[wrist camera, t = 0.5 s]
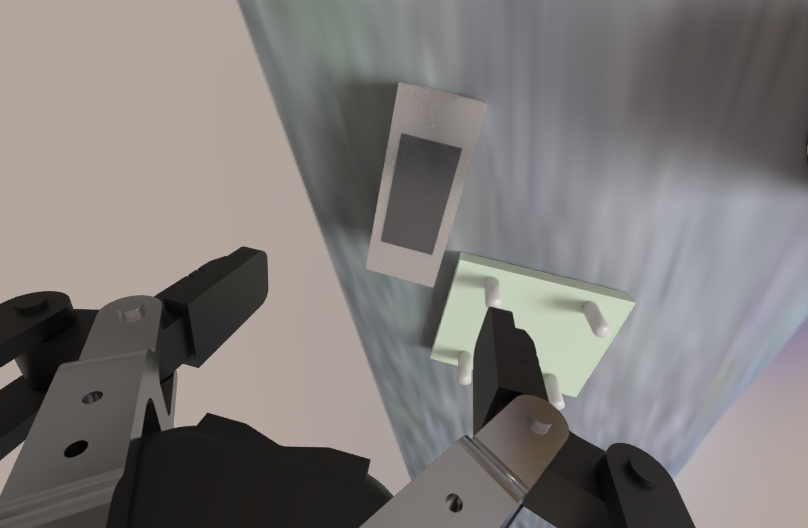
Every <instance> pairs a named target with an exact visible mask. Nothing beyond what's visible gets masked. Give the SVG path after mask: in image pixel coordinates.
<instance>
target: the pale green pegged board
mask: <svg viewBox="0 0 808 528" xmlns="http://www.w3.org/2000/svg"><path fill="white" fill-rule="evenodd" d="M635 304H636V302H635V301H634V300H633V298H632V297H631V296H630V294H629V293H627V292H623V291H619V290H615V289H610V288H606V287H602V286H598V285H594V284H590V283H586V282H582V281H578V280H574V279H570V278H565V277H561V276H557V275H553V274H549V273H545V272H541V271H537V270H533V269H529V268H525V267H520V266H516V265H512V264H508V263H504V262H500V261H496V260H492V259H488V258H484V257H479V256H475V255H471V254H467V253H463V252H460V255H459V259H458V262H457V266H456V269H455V272H454V276H453V279H452V282H451V286H450V289H449V292H448V296H447V299H446V302H445V306H444V309H443V312H442V316H441V319H440V322H439V326H438V329H437V333H436V336H435V339H434V343H433V346H432V351H431V357H430V358H431V359H434V360H438V361H442V362H446V363H449V364H453V365H457V366H458V371H457V381H458V383H460V384H461V385H468V384H470V383H471V369H472V370H473V355H474V349H475V344H476V341H477V338H478V335H479V332H480V329H481V326H482V324H483V321H484V318H485V315H486V312H487V310H488V308H489V307H490V306H491V307H495V308H499V309H504V310H508V311H512V313H513V317H514V323H515V328H519V329H523V330H525V331H526V332H527V333H528V334H529V336H530V337H531V338H532V340H533V341H534V344H535V348H536V352H537V356H538V360H539V366H540V368H541V371H542V375H543V379H544V383H545V387H546V391H547V395H548V399H549V403H550V404H552V405H553V406H554V407H556V408H557V409H558V410H561V409H563V408H564V407H565V404H564V400H563V397H562V394H565V395H569V396H572V397H577V395H578V393H579V392H580V390H581V389H582V387H583V386H584V384H585V382H586V381H587V379H588V378H589V376H590V375H591V373H592V371H593V370H594V368H595V367H596V365H597V364H598V362H599V360H600V359H601V357H602V356H603V354H604V353H605V351H606V349H607V348H608V346H609V345H610V343H611V342H612V340H613V338H614V337H615V335H616V334H617V332H618V331H619V329H620V327H621V326H622V324H623V323H624V321H625V320H626V318H627V316H628V315H629V313H630V312H631V310H632V309H633V307H634V305H635Z"/></svg>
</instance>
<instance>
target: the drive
mask: <svg viewBox="0 0 808 528" xmlns="http://www.w3.org/2000/svg"><path fill="white" fill-rule="evenodd" d="M487 108H488V103H487V102H486V101H483V100H479V99H474V98H470V97H466V96H462V95H458V94H454V93H449V92H445V91H441V90H437V89H433V88H429V87H425V86H420V85H416V84H410V83H402V82H399V83H398V89H397V95H396V100H395V106H394V112H393V117H392V123H391V129H390V134H389V140H388V146H387V151H386V157H385V163H384V168H383V174H382V180H381V185H380V191H379V197H378V202H377V208H376V214H375V219H374V225H373V230H372V236H371V242H370V247H369V253H368V259H367V264H366V269H368V270H371V271H375V272H379V273H382V274H386V275H390V276H393V277H397V278H400V279H404V280H408V281H411V282H415V283H419V284H422V285H426V286H429V287H434V284H435V281H436V277H437V274H438V271H439V267H440V264H441V261H442V257H443V254H444V251H445V247H446V244H447V241H448V237H449V234H450V231H451V227H452V224H453V221H454V217H455V214H456V211H457V207H458V204H459V201H460V197H461V194H462V191H463V187H464V184H465V181H466V178H467V174H468V171H469V168H470V164H471V161H472V158H473V154H474V151H475V148H476V144H477V141H478V138H479V134H480V131H481V128H482V124H483V121H484V118H485V114H486V111H487Z"/></svg>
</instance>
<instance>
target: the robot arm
mask: <svg viewBox="0 0 808 528" xmlns="http://www.w3.org/2000/svg"><path fill="white" fill-rule="evenodd" d="M267 293H268V265H267V254H266V253H265V252H264V251H261V250H256V249H252V248H248V247H241V248H239V249H238V250H236V251H235V252H233V253H231V254H230V255H228V256H224V257H221V258H218V259H215V260H212V261H209V262H208V263H206V264H205V265H203V266H201V267H200V268H198V270H195V271H194V272H192V273H190V274H189V276H188V277H187V276H186V277H184V278H182V279H181V280H179V281H178V282H176V283H175V284H173V285H171V286H170V287H168V288H167V289H165V290H163V291H162V292H160V293H159V294H157V295H156V296H154V297H151V296H144V295H139V296H129V297H125V298H121V299H118V300H115V301H113V302H111V303H109V304H107V305H105V306H104V307H103V308H102V309H100V310H88V309H73V306H72V304H71V301H70V298H69V296H68V295H66V294H64V293H61V292H55V291H43V292H35V293H30V294H25V295H22V296H18V297H15V298H12V299H10V300H8V301H5V302H3V303H1V304H0V367H2V366H4V365H5V364H7V363H9V362H10V361H12V360H13V359H15V361H16V363H17V365H18V367H19V369H20V370H21V373H22V374H23V375H22V376H20V377H19V378H17V379H16V380H14V381H13V382H11V383H10V384H8V385H7V386H5V387H4V388H2V389H1V390H0V460H1V459H3V458H4V457H5V456H6V455H7V454H9V453H10V452H11V451H12V450H13V449H15V448H16V447H17V446H18V445H19V444H21V443H22V442H23V441H24V440H25V442H24V444H23V447H22V449H21V451H20V453H19V455H18V458H17V460H16V462H15V464H14V466H13V469H12V471H11V473H10V475H9V477H8V480H7V482H6V484H5V486H4V489H3V491H2V493H1V495H0V528H509V527H510V526H511V525H512V523H513V522H514V521H515V519H516V518H517V516H518V515H519V514H520V512H521V511H522V509H523V508H524V507H526V508H527V509H529V510H530V511H532V512H534V513H535V514H537V515H538V516H540V517H541V518H543V519H544V520H546V521H547V522H549V523H551V524H552V525H554V526H555V527H557V528H695V525H694V523H693V521H692V519H691V517H690V515H689V513H688V511H687V508H686V506H685V504H684V502H683V500H682V498H681V496H680V494H679V491H678V489H677V487H676V485H675V483H674V481H673V479H672V478H671V476H670V475H669V473H668V472H667V471H666V470H665V469H664V467H663V466H662V465H661V464H660V463H659V462H658V461H656V460H655V459H654V458H653V457H652V456H650V455H649V454H648V453H646V452H644V451H643V450H641V449H639V448H637V447H635V446H632V445H630V444H626V443H615V444H612V445H611V446H610V447H609V448H608V449H607V451H604V450H602V449H600V448H598V447H597V446H595V445H593V444H591V443H589V442H587V441H585V440H583V439H582V438H580V437H578V436H576V435H575V434H573V433H572V432H571V431H569V428H568V424H567V422H566V420H565V418H564V417H563V415H562V414H561V413H560V411H559V410H558V409H557V408H556V407H554V406H553V405H552V404H550V403H549V399H548V395H547V391H546V387H545V383H544V379H543V375H542V371H541V368H540V366H539V360H538V356H537V352H536V348H535V344H534V341H533V340H532V338H531V337H530V336H529V334H528V333H527V332H526V331H525V330H523V329H519V328H515V323H514V317H513V313H512V311H508V310H504V309H499V308H495V307H491V306H490V307H489V308H488V310H487V312H486V315H485V318H484V321H483V324H482V326H481V329H480V332H479V335H478V338H477V341H476V344H475V349H474V355H473V437H472V438H471V439H470V438H469V437H468V436H467V435H465V436H463V437H461V438H460V439H458V440H457V441H456V442H455V443H454V444H453V445H451V446H450V447H449V448H448V449H447V450H446V451H445V452H444V453H442V454H441V455H440V456H439V457H438V458H437V459H436V460H435V461H433V462H432V463H431V464H430V465H429V466H428V467H427V468H426V469H424V470H423V471H422V472H421V473H420V474H419V475H418V476H417V477H415V478H414V479H413V480H412V481H411V482H410V483H409V484H408V485H406V486H405V487H404V488H403V489H402V490H401V491H400V492H399V493H397V494H396V495H395V496H393V495H392V494H391V493H390V492H389V491H388V490H387V489H386V488H385V486H383V485H382V484H381V483H380V482H379V481H378V480H376V479H375V478H374V477H372V476H370V475H369V474H368V469H369V464H370V459H367V458H363V457H360V456H357V455H353V454H350V453H346V452H343V451H339V450H336V449H332V448H326V447H325V448H324V447H285V446H281V445H278V444H277V443H275V442H274V441H272V440H270V439H269V438H267V437H266V436H264V435H263V434H261V433H260V432H258V431H257V430H255V429H253V428H252V427H250V426H249V425H247V424H245V423H242V422H238V421H234V420H231V419H228V418H224V417H220V416H217V415H214V414H210V413H207V414H206V415H205V416H204V417H203V419H202V420H201V421H200V422H199V423H198V425H197V426H184V427H178V428H174V413H175V401H176V389H177V371H176V369H177V368H178V367H179V366H180V365H182V364H186V365H189V366H193V367H197V368H199V367H200V366H201V365H202V364H203V363H204V362H205V361H206V360H207V359H208V358H209V357H210V356H211V355H212V354H213V353H214V352H215V351H216V350H217V349H218V348H219V347H220V346H221V345H222V344H223V343H224V342H225V341H226V340H227V339H228V338H229V337H230V336H231V335H232V334H233V333H234V332H235V331H236V330H237V329H238V328H239V327H240V326H241V325H242V324H243V323H244V322H245V321H246V320H247V319H248V318H249V317H250V316H251V315H252V314H253V313H254V312H255V311H256V310H257V309H258V308H259V307H260V306H261V305H262V304H263V303H264V301H265V299H266V297H267Z"/></svg>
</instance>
